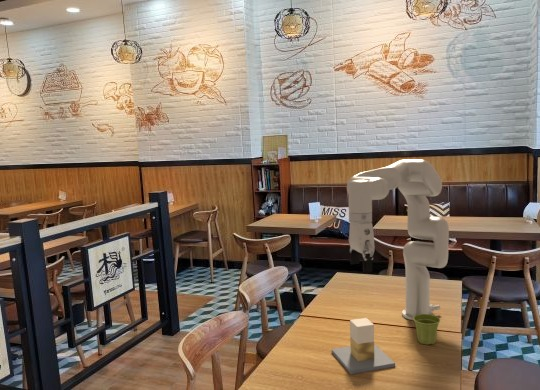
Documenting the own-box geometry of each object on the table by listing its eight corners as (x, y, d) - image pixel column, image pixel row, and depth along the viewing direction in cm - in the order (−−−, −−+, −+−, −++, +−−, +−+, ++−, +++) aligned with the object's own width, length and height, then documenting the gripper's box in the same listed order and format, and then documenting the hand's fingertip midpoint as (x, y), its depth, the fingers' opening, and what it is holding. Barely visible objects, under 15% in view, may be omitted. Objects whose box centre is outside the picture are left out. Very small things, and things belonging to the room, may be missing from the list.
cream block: (366, 334, 162) (366, 317, 161) (374, 341, 156) (373, 324, 155) (350, 336, 160) (350, 320, 160) (357, 344, 155) (357, 326, 154)
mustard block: (366, 350, 162) (366, 334, 162) (374, 358, 157) (374, 341, 156) (350, 353, 161) (350, 336, 160) (358, 361, 155) (357, 344, 154)
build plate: (372, 345, 169) (372, 342, 168) (395, 366, 153) (395, 363, 153) (331, 352, 165) (331, 349, 165) (350, 374, 149) (350, 370, 149)
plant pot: (409, 343, 169) (409, 320, 168) (417, 333, 177) (417, 312, 176) (436, 349, 164) (436, 325, 163) (442, 339, 172) (443, 316, 171)
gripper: (383, 220, 145) (383, 273, 147) (359, 212, 162) (360, 260, 164) (361, 222, 143) (362, 276, 146) (339, 214, 160) (340, 262, 162)
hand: (361, 267), depth 155 cm, fingers open, 9 cm apart
